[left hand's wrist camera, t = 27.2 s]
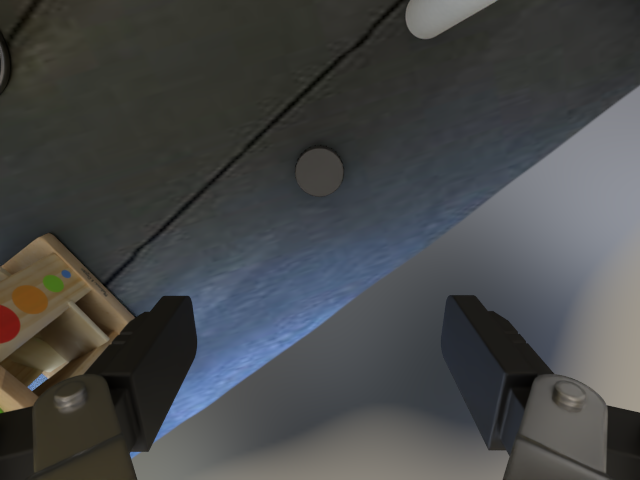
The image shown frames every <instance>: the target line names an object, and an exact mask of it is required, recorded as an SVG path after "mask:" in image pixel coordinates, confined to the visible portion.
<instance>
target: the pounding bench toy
mask: <svg viewBox="0 0 640 480" xmlns="http://www.w3.org/2000/svg"><path fill="white" fill-rule="evenodd" d="M134 318H135V317H134V316H133V315H132V314H131V313H130V312H129V311H128V310H127V309H126V308H125V307H124V306H123V305H122V304H121V303H120V302H119V301H118V300H117V299H116V298H115V297H114V296H113V295H112V294H111V293H110V292H109V291H108V290H107V289H106V288H105V287H104V286H103V285H102V284H101V283H100V282H99V281H98V280H97V278H96V277H95V276H94V275H93V274H92V273H91V272H90V271H89V270H88V269H87V268H86V267H85V266H84V265H83V264H82V263H81V262H80V261H79V260H78V259H77V258H76V257H75V256H74V255H73V254H72V253H71V252H70V251H69V250H68V249H67V248H66V247H65V246H64V245H63V244H62V243H61V242H60V241H59V240H58V239H57V238H56V237H55V236H54V235H52V234H50V233H48V234H45V235H43V236H41V237H39V238H37V239H35V240H34V241H33V242H31V243H30V244H29V245H28V246H26V247H25V248H24V249H23V250H21V251H20V252H19V253H18V254H16V255H15V256H14V257H13V258H11V259H10V260H9V261H8V262H6V263H5V264H4V265H3V266H0V413H4V412H8V411H13V410H17V409H22V408H26V407H30V406H33V405H34V403H35V402H36V400H37V399H38V398H39V396H40V395H41V394H42V393H44V392H45V391H46V390H47V389H49V388H50V387H52V386H53V385H55V384H57V383H59V382H61V381H63V380H65V379H68V378H71V377H74V376H78V375H83V374H84V373H85V372H86V371H87V370H88V368H89V367H90V366H91V365H92V364H93V363H94V361H95V360H96V359H97V358H98V357H99V356H100V355H101V353H102V352H103V351H104V350H105V349H106V348H107V347H108V345H109V344H112V341H113V340H114V339H115V337H116V336H117V335H120V332H121V331H122V329H123V328H124V327H125V326H126V325H127V324H128V323H129V321H131V320H133V319H134ZM41 373H42V374H44V375H45V376H46V377H47V378H48V379H47V380H46V381H45V382H44V383H42V384H41V385H40V386H38V387H37V388H36V389H35V390H33V391H31V390H30V389H28V388H27V387H28V386H29V385H30V384H31V383H32V382H33V381H34V380H35V379H36V378H37V377H38V376H39V375H40V374H41Z"/></svg>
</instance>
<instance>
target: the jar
mask: <svg viewBox="0 0 640 480" xmlns="http://www.w3.org/2000/svg"><path fill="white" fill-rule="evenodd" d="M495 1H497V0H410V2H409V3H408V6H407V9H406V24H407V27H408V29H409V30H410V32H411V33H412V34H413V35H414V36H416V37H418V38H421V39H430V38H433V37H435V36H437V35H439V34H440V33H442V32H444V31H446V30H447V29H449V28H451V27H452V26H454V25H456V24H458V23H459V22H461V21H463V20H465V19H466V18H468V17H470V16H471V15H473V14H475V13H477V12H478V11H480V10H482V9H483V8H485V7H487V6H489V5H490V4H492V3H494V2H495Z"/></svg>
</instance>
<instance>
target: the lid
mask: <svg viewBox="0 0 640 480" xmlns="http://www.w3.org/2000/svg"><path fill="white" fill-rule="evenodd" d="M342 164H343V163H342V161H341V160H340V156H338V155H337V153H336V151H333V150H332V148H331V149H330V148H328V147H327V146H326V147H325V146H321V145H320V146H316V145H315V146H314V147H309V149H307V150H305V151H304V152H303V153H301V155H300V158H298V160H297V163H296V166H295V167H296V170H295V175H296V180H297V182H298V184H299V186H300V187H301V189H302V190H304V191H305V192H306V193H308V194H310V195H312V196H318V197H322V196H327V195H329V194H331V193H333V192H334V191H336V190H337V189H338V187H339V186H340V184H341V182H342V180H343V175H344V167H343V165H342Z"/></svg>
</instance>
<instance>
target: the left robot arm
mask: <svg viewBox="0 0 640 480" xmlns="http://www.w3.org/2000/svg"><path fill="white" fill-rule="evenodd" d="M9 75H10V58H9V53H8V49H7V46H6V44H5V41H4V39H3V37H2V35H1V33H0V94H1V93H2V91H3V90H4V88H5V87H6V85H7V82H8V79H9ZM441 348H442V353H443V357H444V359H445V361H446V363H447V366H448V368H449V370H450V372H451V374H452V376H453V378H454V380H455V382H456V384H457V386H458V388H459V390H460V392H461V394H462V396H463V398H464V401H465V403H466V405H467V407H468V409H469V411H470V413H471V415H472V417H473V419H474V421H475V423H476V425H477V427H478V429H479V431H480V433H481V435H482V438H483V440H484V442H485V444H486V446H487V448H488V450H507V452H508V454H509V456H510V457H509V461H508V464H507V467H506V471H505V474H504V477H503V480H640V413H639V412H634V411H630V410H625V409H621V408H616V407H612V406H607V405H606V403H605V402H604V400H603V399H602V398H601V396H600V395H599V394H597V393H596V392H595V391H594V390H593V389H591V388H590V387H588V386H587V385H585V384H583V383H581V382H579V381H577V380H575V379H572V378H569V377H566V376H562V375H556V374H554V373H553V372H552V371H551V370H550V368H549V367H548V366H547V365H546V364H545V363H544V362H543V360H542V359H541V358H540V357H539V356H538V355H537V353H536V352H535V351H534V350H533V349H532V348H531V347H530V345H529V344H527V343H526V341H525V340H524V338H523V337H522V336H521V335H520V334H518V332H517V330H516V329H515V328H514V327H513V326H512V325H511V323H510V322H509V321H508V320H506V319H505V318H503V317H501V316H500V315H498V314H497V313H495V312H494V311H487V310H486V308H485V307H484V306H483V305H482V303H481V302H480V301H479V300H478V299H477V297H476V296H474V295H450V296H448V298H447V301H446V307H445V314H444V321H443V328H442V335H441ZM196 350H197V335H196V328H195V321H194V314H193V306H192V301H191V298H190V297H189V296H163V297H162V298H161V299H160V300H159V301H158V303H157V304H156V305H155V306H154V307H153V309H152V310H151V311H150V312H144V313H142V314H141V315H139V316H137V317H136V318H134V319H133V320H131V321H129V323H128V324H127V325H126V326H125V327H124V328H123V329H122V331H121V332H120V335H117V336H116V337H115V339H114V340H113V341H112V344H109V345H108V347H107V348H106V349H105V350H104V351H103V352H102V353H101V355H100V356H99V357H98V358H97V359H96V360H95V361H94V363H93V364H92V365H91V366H90V367H89V368H88V370H87V371H86V372H85V373H84V374H83V375H78V376H74V377H71V378H68V379H65V380H63V381H61V382H59V383H57V384H55V385H53V386H52V387H50V388H49V389H47V390H46V391H45V392H44V393H42V394H41V395H40V396H39V398H38V399H37V400H36V402H35V403H34V405H33V406H30V407H26V408H22V409H17V410H13V411H8V412H4V413H0V480H137V477H136V474H135V470H134V467H133V464H132V461H131V457H130V452H148V451H149V450H150V448H151V446H152V444H153V442H154V440H155V438H156V436H157V433H158V431H159V429H160V427H161V425H162V423H163V421H164V419H165V417H166V415H167V413H168V411H169V409H170V407H171V405H172V403H173V401H174V399H175V397H176V395H177V393H178V391H179V389H180V387H181V385H182V383H183V381H184V379H185V377H186V375H187V373H188V371H189V369H190V366H191V364H192V362H193V360H194V358H195V355H196Z"/></svg>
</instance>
